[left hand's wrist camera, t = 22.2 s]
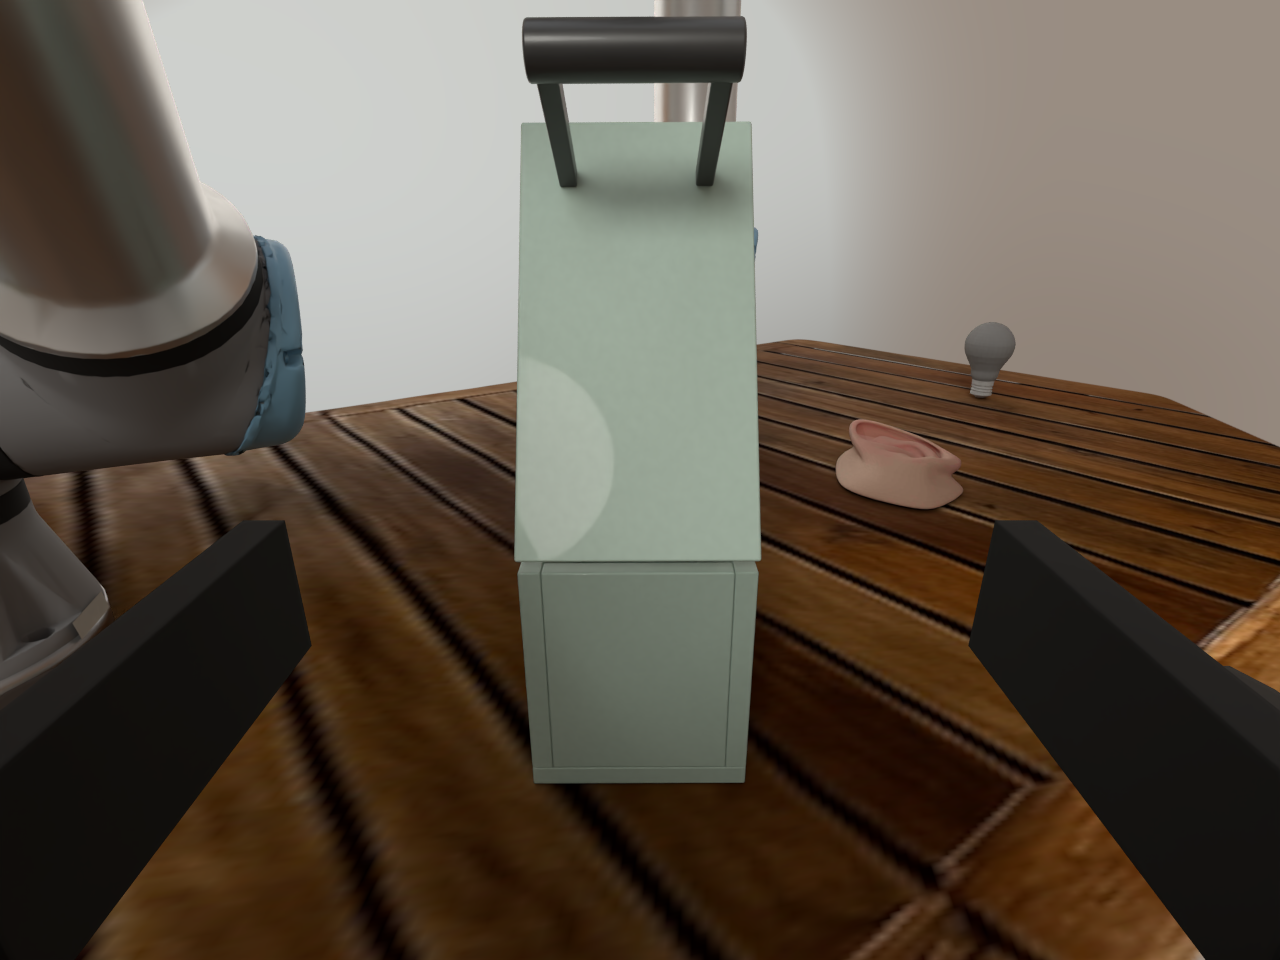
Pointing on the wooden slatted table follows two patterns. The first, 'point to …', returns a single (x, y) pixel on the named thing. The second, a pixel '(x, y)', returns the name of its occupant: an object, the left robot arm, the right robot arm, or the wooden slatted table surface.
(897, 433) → the anatomical model
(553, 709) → the chest
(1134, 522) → the wooden slatted table surface
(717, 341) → the lid
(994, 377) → the light bulb
